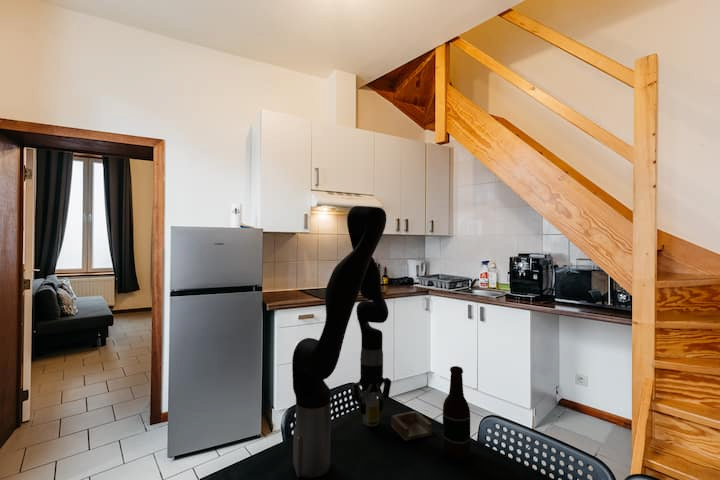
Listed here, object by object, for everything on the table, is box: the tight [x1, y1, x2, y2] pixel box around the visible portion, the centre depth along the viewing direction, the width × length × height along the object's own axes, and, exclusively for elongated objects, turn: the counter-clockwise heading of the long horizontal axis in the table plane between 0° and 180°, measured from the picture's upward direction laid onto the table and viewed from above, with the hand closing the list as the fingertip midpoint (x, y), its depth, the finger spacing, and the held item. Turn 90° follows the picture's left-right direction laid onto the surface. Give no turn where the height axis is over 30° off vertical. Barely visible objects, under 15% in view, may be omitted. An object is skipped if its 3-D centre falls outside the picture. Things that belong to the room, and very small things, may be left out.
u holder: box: [390, 410, 433, 442], centre depth 112 cm, size 9×9×4 cm
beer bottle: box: [442, 365, 471, 460], centre depth 100 cm, size 8×8×24 cm
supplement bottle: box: [362, 392, 380, 427], centre depth 116 cm, size 5×5×10 cm
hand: (371, 412), depth 116 cm, fingers closed on supplement bottle, 5 cm apart
